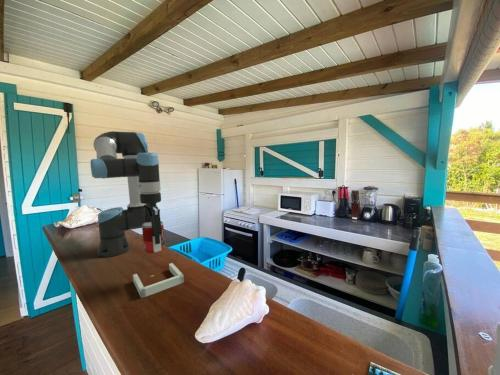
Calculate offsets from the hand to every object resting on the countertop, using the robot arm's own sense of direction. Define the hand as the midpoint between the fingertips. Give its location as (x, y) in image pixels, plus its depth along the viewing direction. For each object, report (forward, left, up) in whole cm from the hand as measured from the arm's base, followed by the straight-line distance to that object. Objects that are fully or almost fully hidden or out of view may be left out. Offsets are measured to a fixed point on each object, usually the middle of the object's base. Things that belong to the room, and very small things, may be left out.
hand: (154, 247), depth 88 cm
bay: (+2, 0, -14) cm, 14 cm away
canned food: (0, 0, -1) cm, 1 cm away
